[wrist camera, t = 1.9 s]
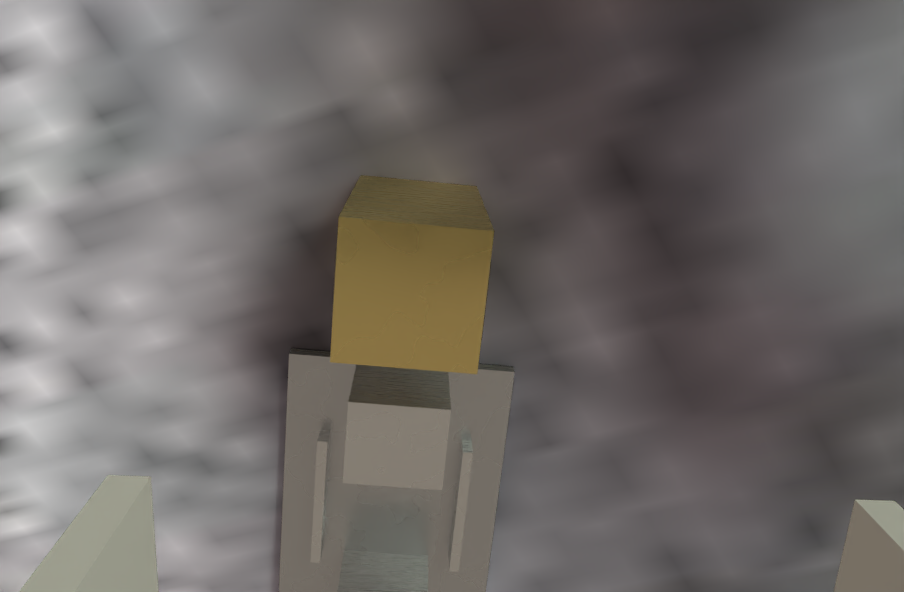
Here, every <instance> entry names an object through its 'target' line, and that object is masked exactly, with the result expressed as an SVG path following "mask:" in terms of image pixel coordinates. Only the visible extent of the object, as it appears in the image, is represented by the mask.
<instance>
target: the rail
mask: <svg viewBox="0 0 904 592" xmlns="http://www.w3.org/2000/svg"><path fill="white" fill-rule="evenodd" d="M330 354H331V352H330V351H317V350H305V349H293V348H291V351H290V353H289V366H288V389H287V412H286V435H285V459H284V482H283V505H282V528H281V551H280V574H279V592H486V584H487V577H488V569H489V562H490V554H491V547H492V539H493V532H494V524H495V517H496V509H497V502H498V494H499V487H500V479H501V472H502V464H503V457H504V449H505V442H506V434H507V427H508V419H509V412H510V404H511V397H512V389H513V382H514V374H515V371H514V368H513V366H501V365H489V364H478V372H477V374H468V373H455V372H443V371H430V370H418V369H406V368H393V367H381V366H369V365H356V364H344V363H332V362H330Z"/></svg>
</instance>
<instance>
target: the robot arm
mask: <svg viewBox="0 0 904 592" xmlns="http://www.w3.org/2000/svg"><path fill="white" fill-rule="evenodd" d="M19 592H158V578H157V563H156V548H155V533H154V518H153V504H152V489H151V477H148V476H117V475H108V476H107V477H106V478H105V480H104V481H103V482H102V484H101V485H100V486H99V488H98V489H97V490H96V492H95V493H94V494H93V495H92V497H91V498H90V499H89V501H88V502H87V503H86V505H85V506H84V507H83V509H82V510H81V511H80V513H79V514H78V515H77V516H76V518H75V519H74V520H73V522H72V523H71V524H70V526H69V527H68V528H67V530H66V531H65V532H64V534H63V535H62V536H61V537H60V539H59V540H58V541H57V543H56V544H55V545H54V547H53V548H52V549H51V551H50V552H49V553H48V555H47V556H46V557H45V558H44V560H43V561H42V562H41V564H40V565H39V566H38V568H37V569H36V570H35V572H34V573H33V574H32V576H31V577H30V578H29V580H28V581H27V582H26V583H25V585H24V586H23V587H22V589H21V590H20V591H19ZM834 592H904V509H903V508H901V507H900V506H899V505H898V504H897V503H896V502H895V501H884V500H855V502H854V506H853V511H852V515H851V519H850V524H849V528H848V532H847V536H846V541H845V545H844V549H843V554H842V558H841V562H840V567H839V571H838V575H837V580H836V584H835V588H834Z"/></svg>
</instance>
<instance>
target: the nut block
mask: <svg viewBox="0 0 904 592" xmlns="http://www.w3.org/2000/svg"><path fill="white" fill-rule="evenodd" d="M493 237H494V229H493V227H492V224H491V222H490V219H489V217H488V214H487V212H486V209H485V207H484V204H483V201H482V199H481V196H480V194H479V191H478V189H477V186H470V185H459V184H449V183H438V182H428V181H417V180H407V179H396V178H386V177H375V176H365V175H361V176H360V178H359V180H358V181H357V183H356V185H355V187H354V189H353V191H352V193H351V195H350V197H349V198H348V200H347V202H346V204H345V206H344V208H343V210H342V212H341V213H340V215H339V220H338V237H337V248H336V257H335V274H334V291H333V308H332V325H331V327H332V337H331V354H330V362H332V363H344V364H356V365H369V366H381V367H393V368H406V369H418V370H430V371H443V372H455V373H468V374H477V372H478V363H479V355H480V347H481V340H482V335H483V326H484V318H485V309H486V301H487V292H488V284H489V276H490V267H491V254H492V245H493Z"/></svg>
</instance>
